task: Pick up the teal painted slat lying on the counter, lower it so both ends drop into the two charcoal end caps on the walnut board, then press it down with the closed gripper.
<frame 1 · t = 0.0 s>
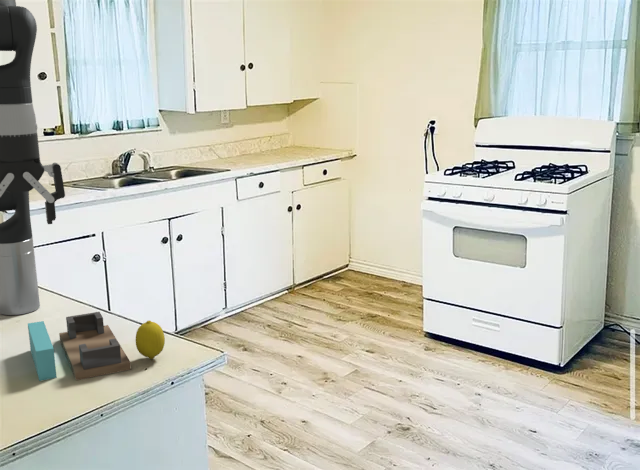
hand: (23, 226, 118), 29 cm above the counter, tool pointing down, fingers open, 8 cm apart
lemon: (151, 360, 135), on the counter
slat frame: (93, 353, 137), on the counter
slat: (43, 364, 133), on the counter
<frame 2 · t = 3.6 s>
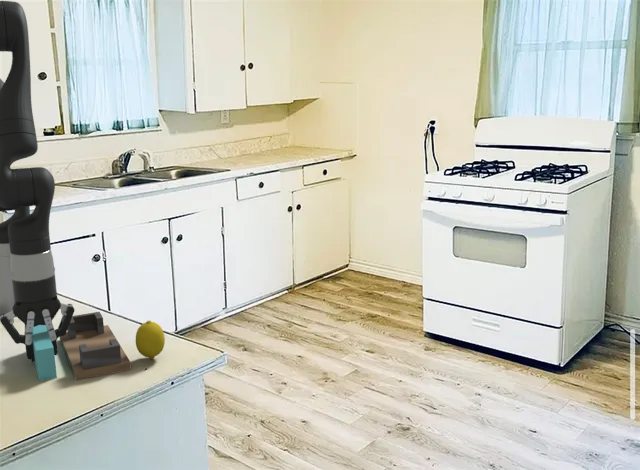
hand: (42, 358, 133), 1 cm above the counter, tool pointing down, fingers closed on slat, 3 cm apart
slat: (43, 363, 133), on the counter, touching gripper
everything else where it was.
when the fingers open (4 cm above the counter, at t = 7.6 s): slat stays where it is, resting on slat frame.
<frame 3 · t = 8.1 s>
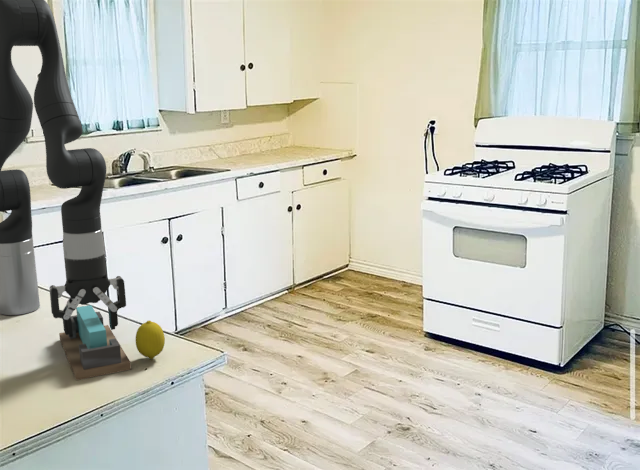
hand: (91, 332, 136), 5 cm above the counter, tool pointing down, fingers open, 7 cm apart
slat: (92, 346, 137), point 1 cm above the counter, touching slat frame
everything else where it was.
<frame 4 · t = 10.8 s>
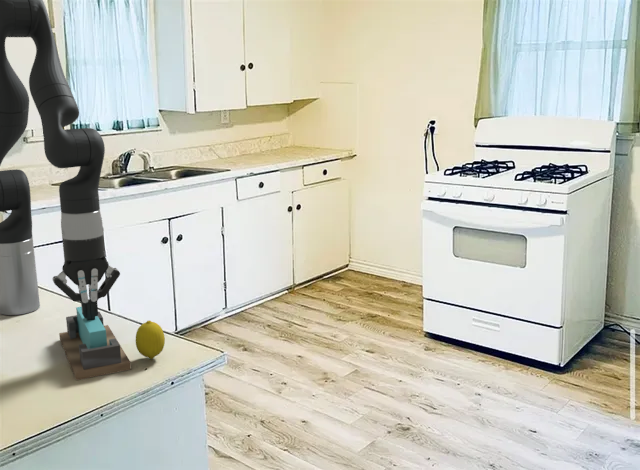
hand: (90, 318, 135), 7 cm above the counter, tool pointing down, fingers closed
slat: (92, 346, 137), point 1 cm above the counter, touching gripper, slat frame
everything else where it was.
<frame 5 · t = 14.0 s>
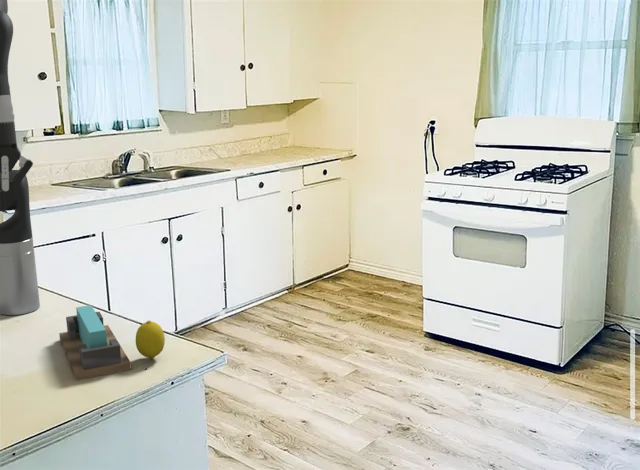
hand: (3, 209, 133), 29 cm above the counter, tool pointing down, fingers closed
slat: (92, 346, 137), point 1 cm above the counter, touching slat frame
everything else where it was.
at the end: slat 0.3 cm off-centre on the slat frame, point 1.5 cm above the slat frame's base; slat tilted 0°; the gripper is holding nothing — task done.
